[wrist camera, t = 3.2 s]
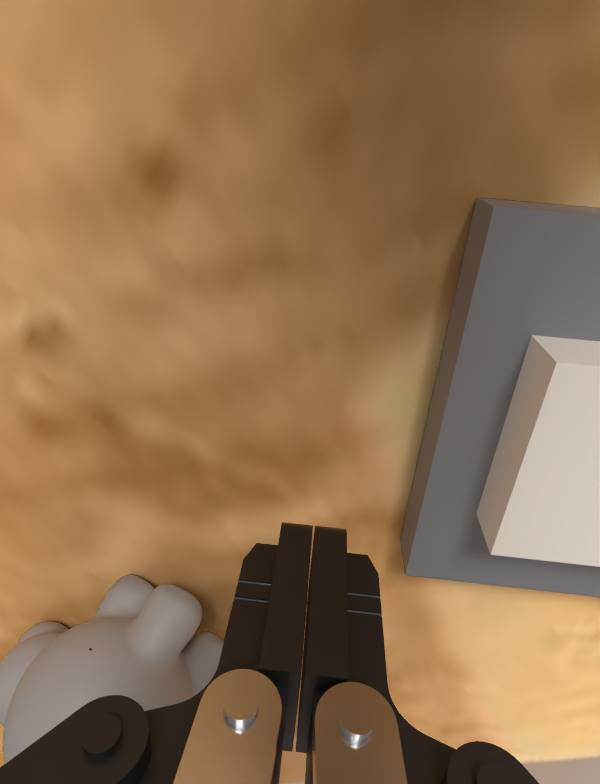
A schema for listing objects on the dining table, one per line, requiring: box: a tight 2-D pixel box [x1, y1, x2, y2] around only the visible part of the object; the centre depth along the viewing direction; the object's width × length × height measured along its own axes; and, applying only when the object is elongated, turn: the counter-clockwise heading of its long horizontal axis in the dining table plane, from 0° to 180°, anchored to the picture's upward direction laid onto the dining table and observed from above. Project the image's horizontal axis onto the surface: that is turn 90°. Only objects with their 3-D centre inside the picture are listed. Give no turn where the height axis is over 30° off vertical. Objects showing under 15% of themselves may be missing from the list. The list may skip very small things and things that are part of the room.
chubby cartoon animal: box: [0, 575, 224, 764], centre depth 22 cm, size 7×12×8 cm, turn 108°
